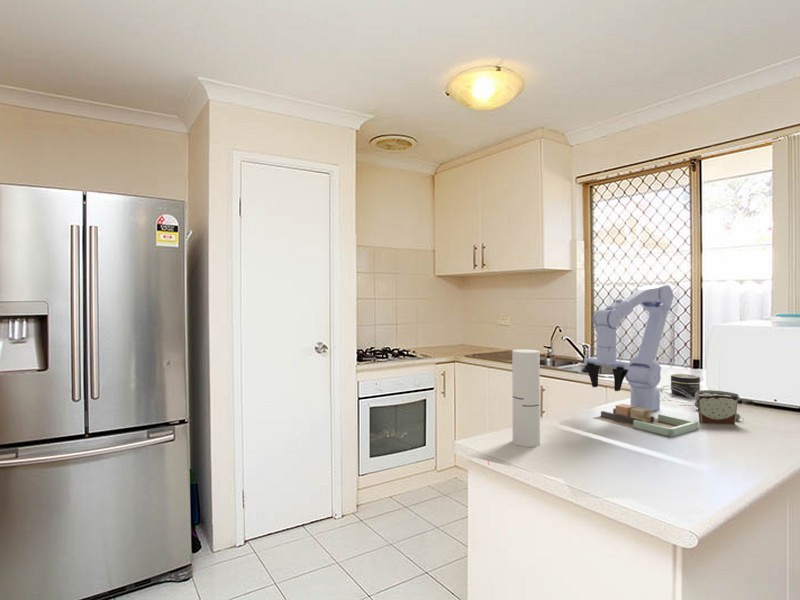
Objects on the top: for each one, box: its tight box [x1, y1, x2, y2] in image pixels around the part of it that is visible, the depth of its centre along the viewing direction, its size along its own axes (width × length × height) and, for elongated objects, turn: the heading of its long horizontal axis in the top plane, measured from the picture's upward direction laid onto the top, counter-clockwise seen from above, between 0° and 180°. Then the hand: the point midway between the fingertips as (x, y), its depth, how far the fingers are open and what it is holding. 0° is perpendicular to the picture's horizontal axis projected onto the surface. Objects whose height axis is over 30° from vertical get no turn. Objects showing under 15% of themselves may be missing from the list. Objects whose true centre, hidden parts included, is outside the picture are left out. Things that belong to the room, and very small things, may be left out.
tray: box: [633, 413, 699, 438], centre depth 135 cm, size 14×11×2 cm
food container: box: [693, 389, 741, 425], centre depth 143 cm, size 12×6×10 cm, turn 84°
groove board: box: [593, 407, 700, 439], centre depth 141 cm, size 16×24×2 cm, turn 31°
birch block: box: [631, 407, 652, 423], centre depth 142 cm, size 4×4×4 cm
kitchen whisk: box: [658, 384, 745, 422], centre depth 161 cm, size 6×34×6 cm, turn 13°
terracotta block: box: [615, 403, 635, 417], centre depth 146 cm, size 4×4×4 cm
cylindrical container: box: [511, 348, 541, 448], centre depth 126 cm, size 7×7×25 cm
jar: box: [670, 373, 701, 398], centre depth 184 cm, size 10×10×8 cm
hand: (606, 388), depth 150 cm, fingers open, 7 cm apart
